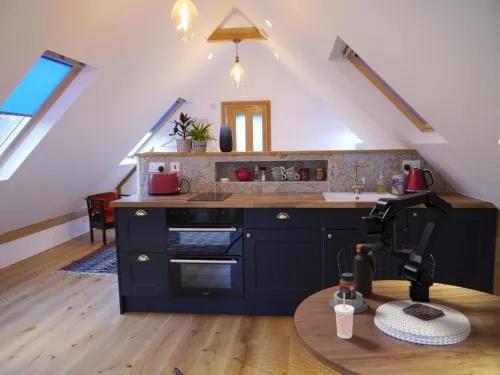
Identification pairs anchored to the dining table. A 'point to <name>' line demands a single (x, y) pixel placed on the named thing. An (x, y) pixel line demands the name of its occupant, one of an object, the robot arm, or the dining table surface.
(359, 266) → the vinegar
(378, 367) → the dining table surface
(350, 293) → the supplement bottle
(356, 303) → the can holder
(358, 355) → the dining table surface
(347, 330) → the beverage cup
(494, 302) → the dining table surface
